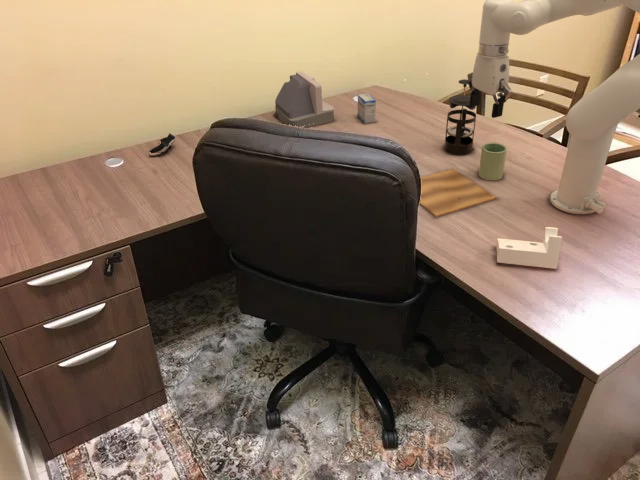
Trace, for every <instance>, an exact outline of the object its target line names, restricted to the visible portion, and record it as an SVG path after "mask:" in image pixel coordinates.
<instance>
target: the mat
mask: <svg viewBox="0 0 640 480" xmlns="http://www.w3.org/2000/svg"><path fill="white" fill-rule="evenodd" d="M420 178H421V180H422V194H421V200H420V204H419V205H420V206H421V207H422V208H424V209H425V210H426V211H428V212H429V213H430V214H431V215H432V216H434V217H435V218H438V217H442V216H445V215H448V214H452V213H454V212H455V213H456V212H457V211H460V210H464V209H468V208H470V207H473V206H477V205H481V204H484V203H488V202H490V201H494V200H496V198H497V197H496V196H495V195H493V194H492V193H491V192H489V191H487V190H486V189H484V188H483V187H481V186H479V185H478V184H477V183H475V182H473V181H472V180H470V179H469V178H468V177H466V176H465V175H463V174H461V173H460V172H459V171H457V170H455V169H454V168H451V169H447V170H444V171H440V172H437V173H433V174H428V175H425V176H422V177H420Z"/></svg>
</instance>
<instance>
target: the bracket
mask: <svg viewBox="0 0 640 480" xmlns="http://www.w3.org/2000/svg"><path fill="white" fill-rule="evenodd" d="M544 229H545V230H544V235H543V240H542V242H539V241H529V240H519V239H511V238H510V239H509V238H499V237H498V238H497V241H496V247H495V249H496V263H500V264H507V265H518V266H527V267H534V268H535V267H536V268H546V269H553V270H554V269H555V270H557V269H558V264H559V257H560V253H561V248H562V243H563V236H562V235H558V232H559V228H558V227H552V226H551V227H550V226H545V228H544Z"/></svg>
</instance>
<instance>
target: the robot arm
mask: <svg viewBox="0 0 640 480" xmlns="http://www.w3.org/2000/svg"><path fill="white" fill-rule="evenodd" d="M622 6H625V7H626V8H628V9H630V10H632V11H633V12H636V13H638V14H640V0H521V1H518V2H514V0H484V2H483V5H482V13H481V22H480V23H481V24H480V30H479V39H478V48H477V53H476V56H475V60H474V64H473V70H472V72H470V73H468V74H467V76H466V77H467V80H468V81H469V82H468V84H467V85H468V88H469V90H468V91H469V93H470V95H469V96H470V104H469V106H470V107H474V106H476V107H477V106H480V104H481V98H482V97H481V95H482V92H483V93H485V94H487V95H490V96H492V97H493V98H492V99H493V100H494V103H493V104H492V109H491V118H493V119H495V118H499V117H502V116H503V112H504V105H505V103H506V102H507V101H508V100H509V99H510V97H511V95H512V93H513V90H512V88H511V87H510V85H509V81H510V56H509V55H508V53H510V52H509V45H510V37H511V34H513V35H518V36H524V35H525V36H526V35H528V34H530V33H532V32H533V31H535V30H537V29H538V28H540V27H542V26H544V25H547V24H550V23H553V22H557V21H559V20H563V19H565V18H570V17H573V16H584V17H588V16H593V15H596V14H599V13H603V12H605V11H609V10H613V9H615V8H619V7H622ZM638 110H640V53H638V55H636V56H635V57H633V58H632V59H630V60H629V61H627V62H626V63H624V64H622V65H621V66H620V67H619V68H617V70H615V71H614V73H612V74H611V75H610V76H609V77H607V79H605V80H604V81H603V82H602V83H600V84H599V85H598V86H597V87H596V88H594V89H592V90H590V91H588V92H587V93H585V94H584V95H583V96H582V97H581V98H580V99H579V100H578V101H577V102H576V103H575V104H574V105H573V106H572V107H571V108H570V109H569V110H568V112H567V114H566V117H565V127H566V130H567V132H568V133H569V135H570V139H569V144H568V147H567V150H566V151H567V152H566V155H565V160H564V164H563V168H562V172H561V177H560V181H559V185H558V189H556V190H554V191H552V192H551V193H550V198H549V200H550V203H551V205H553V206H554V207H555V208H557V209H558V210H560V211H563V212H565V213H568V214H572V215H590V214H594V213H597V214H599V215H601V214H602V213H603V212H604V210H605V208H606V207H607V203H605V202H604V201H601V199H600V198H601V193H599V192H598V191H599V188H600V184H601V180H602V178H603V174H604V170H605V168H606V167H605V166H606V163H607V160H608V156H609V152H610V150H611V146H612V143H613V140H614V136H615V133H616V130H617V129H618V126H619V124H620V123H622V122H624V121H625V120H626V119H627V118H629V117H630V116H631V115H633V114H634V113H636V112H638Z"/></svg>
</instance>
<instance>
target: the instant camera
mask: <svg viewBox="0 0 640 480" xmlns="http://www.w3.org/2000/svg"><path fill="white" fill-rule="evenodd" d="M274 102H275V106H274V109H275V112H274V116H275V117H277V118H278V119H279V120H280V121H281V122H282V123H283V124H284V125H285V124H288V125H289V124H290V125H292V126H295V125H296V126H298V127H300V126H301V127H302V126H304V125H305V126H304V127H306V128H305V129H307V128H311V127H315V126H320V125H323V124H329V123H333V122H334V121H335V110H334V109H335V108H334V106H332V105H330V103H327V102H326V101H325V100H323V91H322V84H321V83H319V82H318V81H317V80H316V79H315V78H314V77H312V76H309V75H308V74H306V73H305V72H303V71H297V72H295V74H291V75H289V81H286V82H284V83H283V85H282V86H281V88H280V90H279V91H278V94H277V96H276V98H275V100H274ZM313 123H314V124H313ZM309 124H310V125H309Z"/></svg>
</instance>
